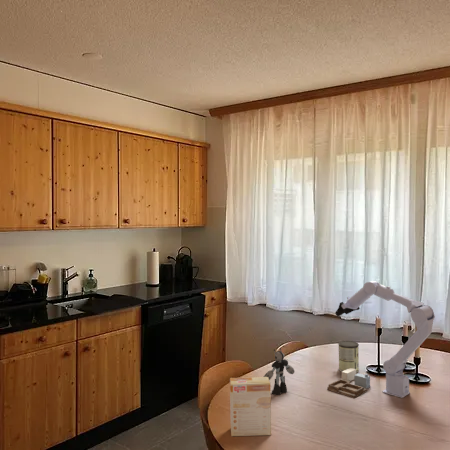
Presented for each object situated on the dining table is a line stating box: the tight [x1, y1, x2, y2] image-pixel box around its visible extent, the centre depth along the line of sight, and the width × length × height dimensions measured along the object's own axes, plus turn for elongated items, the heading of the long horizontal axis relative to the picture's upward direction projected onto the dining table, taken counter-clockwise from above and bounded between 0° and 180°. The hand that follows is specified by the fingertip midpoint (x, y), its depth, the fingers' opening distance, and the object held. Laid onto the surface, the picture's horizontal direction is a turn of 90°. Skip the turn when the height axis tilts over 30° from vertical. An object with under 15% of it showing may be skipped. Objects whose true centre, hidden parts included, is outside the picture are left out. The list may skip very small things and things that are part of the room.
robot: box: [263, 347, 295, 396], centre depth 206 cm, size 20×5×20 cm, turn 128°
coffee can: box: [337, 340, 360, 374], centre depth 235 cm, size 10×10×14 cm
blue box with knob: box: [353, 372, 371, 389], centre depth 213 cm, size 6×4×6 cm, turn 43°
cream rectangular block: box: [341, 368, 357, 382], centre depth 221 cm, size 3×8×5 cm, turn 133°
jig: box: [327, 378, 368, 399], centre depth 207 cm, size 14×11×2 cm
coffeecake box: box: [229, 376, 272, 437], centre depth 168 cm, size 15×7×20 cm, turn 92°
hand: (340, 313), depth 224 cm, fingers open, 7 cm apart
